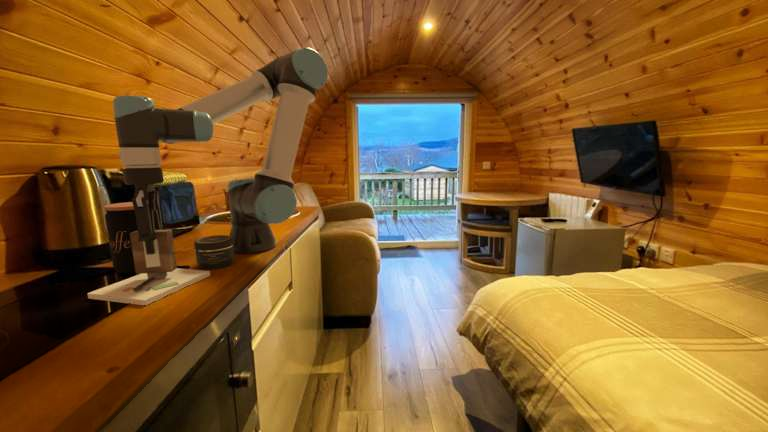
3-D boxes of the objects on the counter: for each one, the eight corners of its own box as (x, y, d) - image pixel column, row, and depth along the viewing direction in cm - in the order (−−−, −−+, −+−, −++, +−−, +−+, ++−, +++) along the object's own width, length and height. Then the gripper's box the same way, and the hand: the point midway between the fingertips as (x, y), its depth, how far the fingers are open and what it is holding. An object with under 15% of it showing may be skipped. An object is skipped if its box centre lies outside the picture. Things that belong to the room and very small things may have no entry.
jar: (237, 266, 93) (234, 240, 92) (196, 273, 88) (193, 245, 87) (233, 257, 102) (231, 233, 100) (196, 262, 97) (193, 237, 96)
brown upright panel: (144, 274, 83) (138, 230, 81) (178, 273, 84) (173, 228, 82) (115, 292, 72) (107, 241, 70) (155, 290, 73) (147, 239, 71)
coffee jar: (104, 272, 90) (92, 206, 87) (142, 260, 100) (133, 200, 97) (133, 275, 87) (122, 207, 83) (169, 263, 97) (161, 202, 94)
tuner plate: (160, 270, 90) (160, 266, 90) (210, 275, 86) (209, 270, 86) (88, 298, 73) (87, 292, 73) (146, 305, 69) (145, 299, 69)
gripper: (133, 166, 83) (146, 256, 87) (109, 168, 68) (126, 277, 72) (168, 165, 86) (179, 252, 90) (152, 167, 71) (166, 272, 75)
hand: (155, 263), depth 81 cm, fingers closed on brown upright panel, 4 cm apart
